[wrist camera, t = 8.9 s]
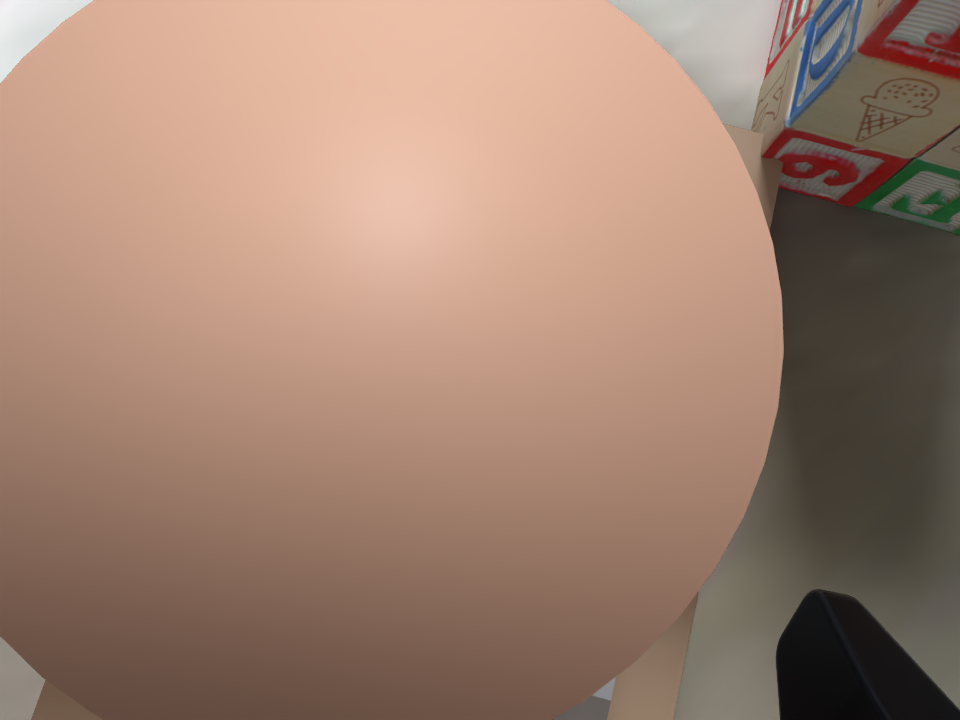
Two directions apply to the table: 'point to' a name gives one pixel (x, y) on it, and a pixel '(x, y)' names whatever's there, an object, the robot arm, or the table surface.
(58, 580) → the peach-capped cylinder
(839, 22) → the stack of blocks
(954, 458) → the table surface
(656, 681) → the jig board
